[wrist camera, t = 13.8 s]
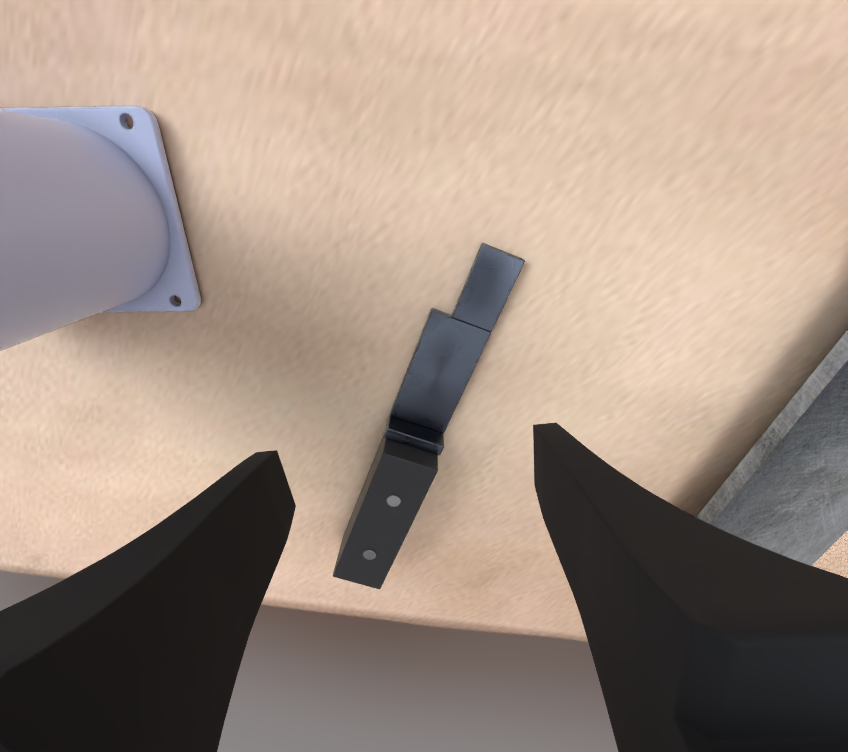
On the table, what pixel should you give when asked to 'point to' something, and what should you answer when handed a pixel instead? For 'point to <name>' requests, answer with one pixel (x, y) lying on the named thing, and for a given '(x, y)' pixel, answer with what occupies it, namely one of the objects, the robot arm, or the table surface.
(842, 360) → the meat cleaver
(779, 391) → the table surface
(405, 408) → the knife
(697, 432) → the table surface
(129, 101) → the table surface
